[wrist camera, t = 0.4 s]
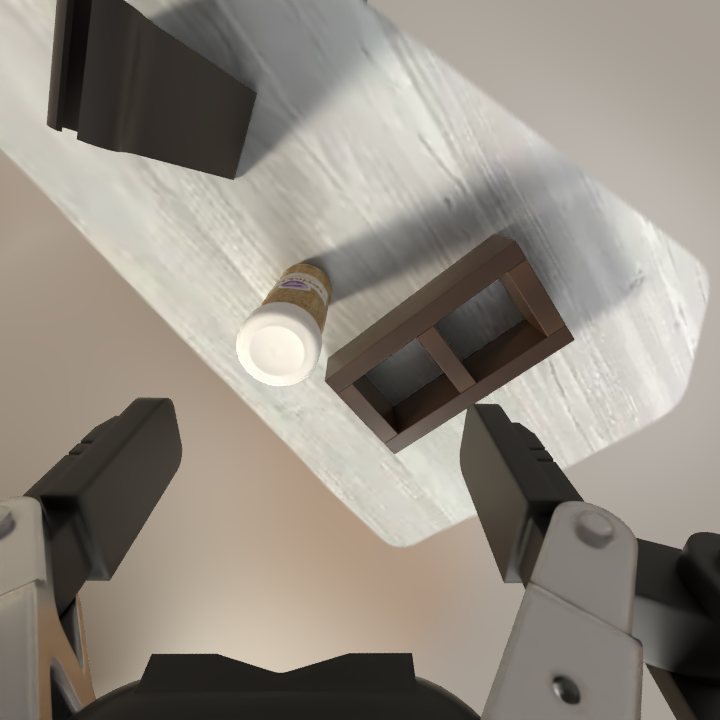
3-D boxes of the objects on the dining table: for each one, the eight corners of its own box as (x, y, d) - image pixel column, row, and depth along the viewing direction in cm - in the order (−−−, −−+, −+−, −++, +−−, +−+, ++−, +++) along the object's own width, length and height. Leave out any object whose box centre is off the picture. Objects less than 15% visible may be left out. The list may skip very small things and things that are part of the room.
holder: (327, 358, 36) (324, 381, 31) (494, 233, 31) (515, 240, 27) (389, 426, 39) (394, 454, 35) (548, 321, 34) (575, 339, 30)
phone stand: (112, 125, 28) (-44, 87, 17) (127, 28, 25) (-43, -89, 14) (234, 180, 29) (165, 178, 18) (258, 94, 27) (195, 33, 16)
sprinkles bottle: (325, 257, 32) (308, 303, 20) (336, 309, 34) (327, 381, 21) (271, 268, 32) (222, 320, 20) (286, 319, 34) (249, 395, 22)
